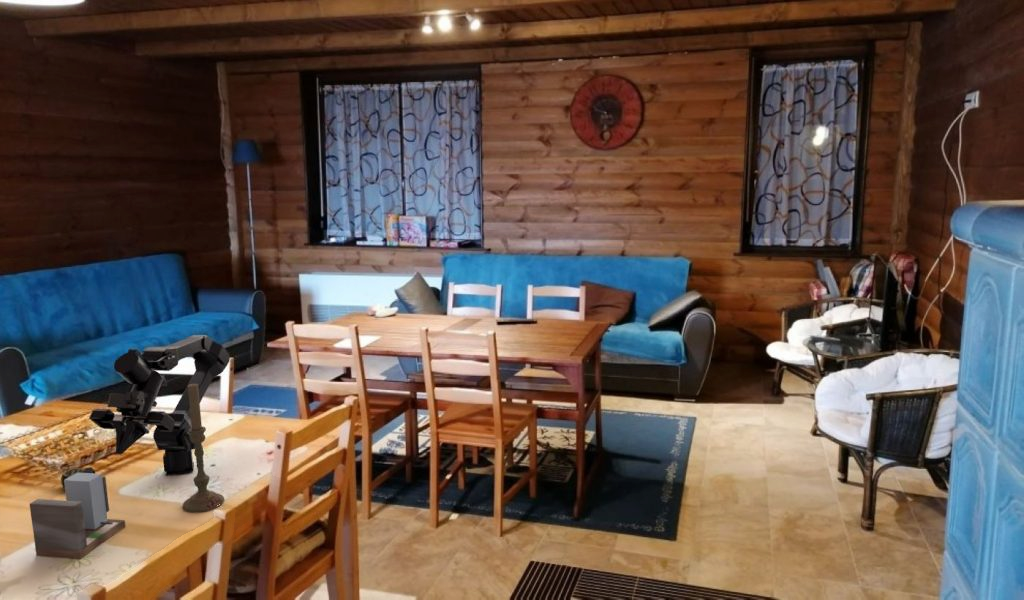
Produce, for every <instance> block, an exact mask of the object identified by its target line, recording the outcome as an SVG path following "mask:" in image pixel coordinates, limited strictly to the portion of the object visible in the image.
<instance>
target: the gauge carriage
mask: <svg viewBox="0 0 1024 600" xmlns="http://www.w3.org/2000/svg"><path fill="white" fill-rule="evenodd" d="M64 485H65V488H64V491H65V501H81V502H82V508H83V516H84V524H85V529H97V528H98V527H99V526H101V525H102V524H109V525H112V524H113V522H107V521H108V519H109V518H108V512H110V506H109V496H108V488H107V477H106V476H104V475H103V473H96V472H95V473H76V474H74V475H72V476H70V477H69V478H67V479H65V480H64Z"/></svg>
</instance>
